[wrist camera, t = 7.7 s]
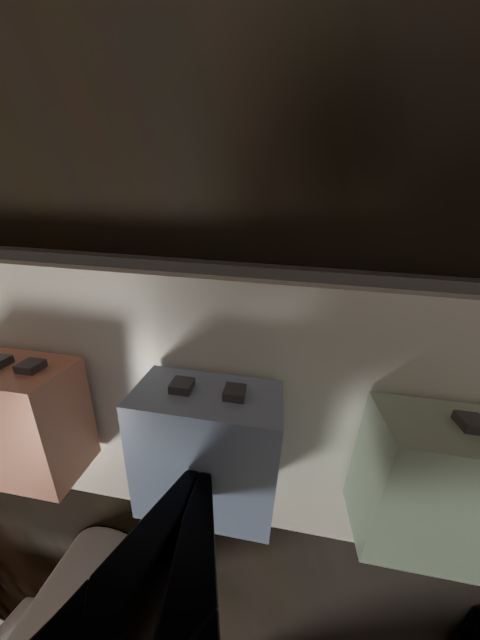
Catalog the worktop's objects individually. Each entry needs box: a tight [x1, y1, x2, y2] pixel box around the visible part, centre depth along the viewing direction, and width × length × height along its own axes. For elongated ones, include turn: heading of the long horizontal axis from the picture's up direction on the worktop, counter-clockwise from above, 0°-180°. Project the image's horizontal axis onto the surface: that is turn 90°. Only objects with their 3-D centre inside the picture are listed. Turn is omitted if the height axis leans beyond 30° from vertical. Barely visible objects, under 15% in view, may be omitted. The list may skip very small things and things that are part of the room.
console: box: [0, 246, 480, 543], centre depth 12 cm, size 26×12×2 cm, turn 87°
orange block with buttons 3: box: [0, 347, 101, 503], centre depth 11 cm, size 5×5×2 cm
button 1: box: [343, 391, 480, 586], centre depth 9 cm, size 5×5×2 cm
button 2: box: [117, 365, 284, 545], centre depth 10 cm, size 5×5×2 cm
